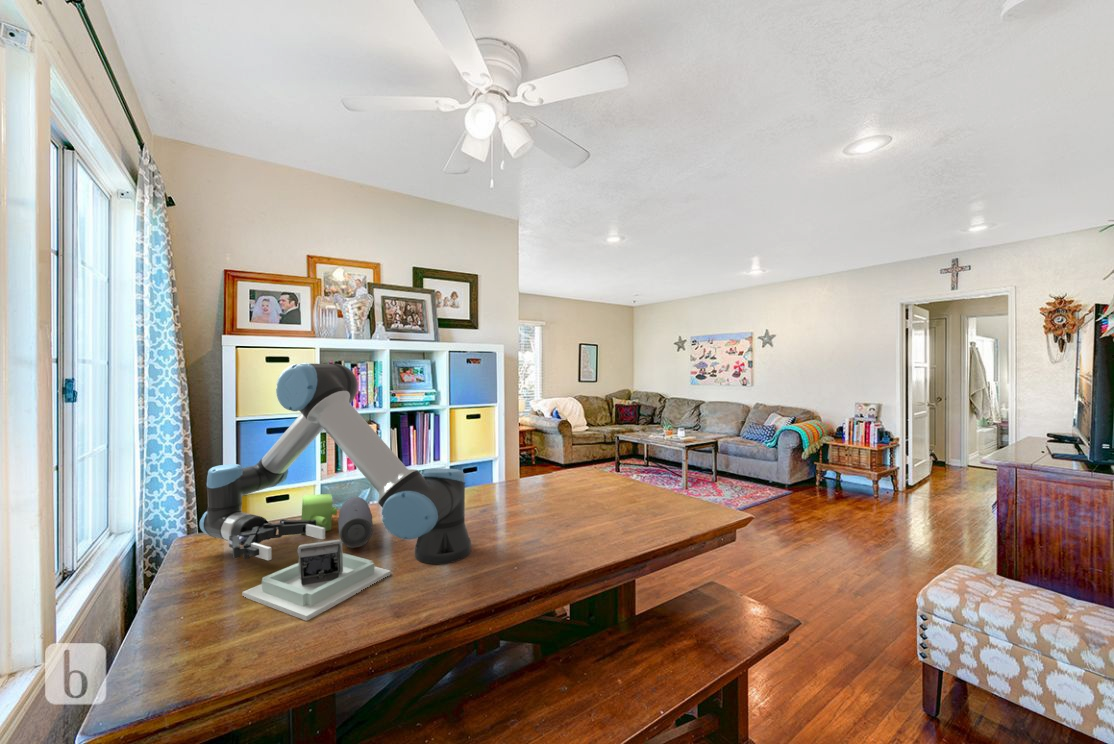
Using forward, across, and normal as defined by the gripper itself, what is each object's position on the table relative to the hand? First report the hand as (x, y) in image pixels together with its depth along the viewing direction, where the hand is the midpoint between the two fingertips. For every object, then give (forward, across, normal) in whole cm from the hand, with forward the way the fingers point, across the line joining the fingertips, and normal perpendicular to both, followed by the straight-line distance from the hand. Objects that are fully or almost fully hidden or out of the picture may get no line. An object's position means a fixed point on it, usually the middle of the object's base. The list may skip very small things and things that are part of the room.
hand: (298, 543), depth 107 cm
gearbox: (-27, -25, -9) cm, 38 cm away
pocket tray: (+8, 0, -9) cm, 11 cm away
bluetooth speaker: (-9, -24, -9) cm, 27 cm away
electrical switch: (+8, -1, -8) cm, 11 cm away
